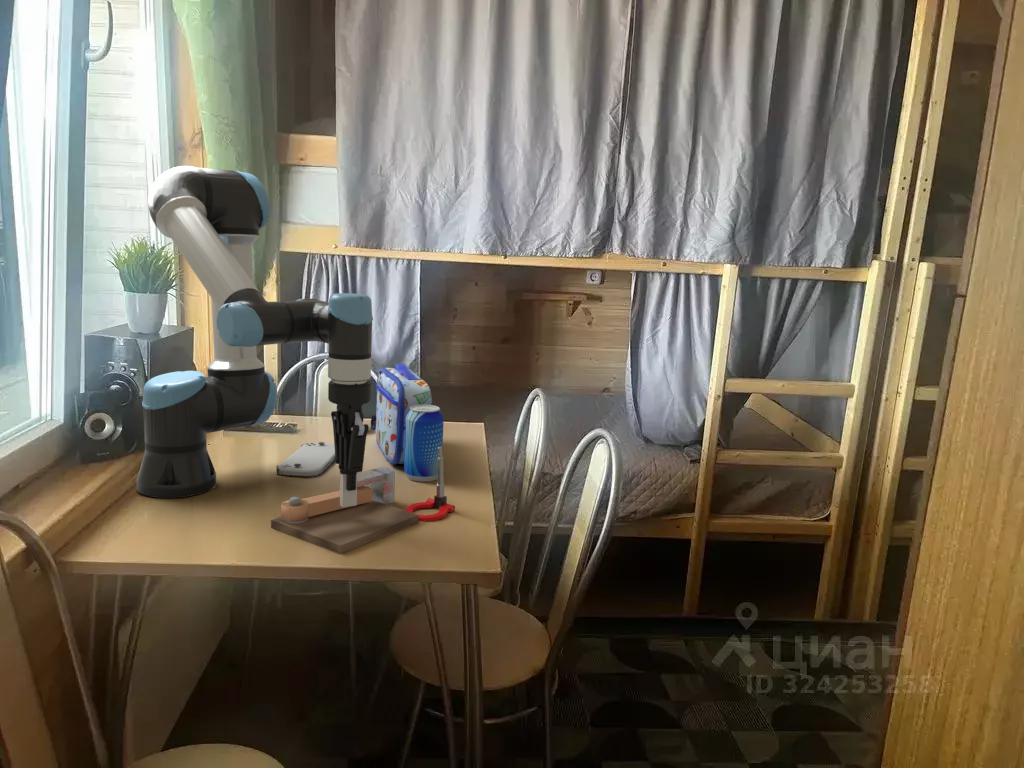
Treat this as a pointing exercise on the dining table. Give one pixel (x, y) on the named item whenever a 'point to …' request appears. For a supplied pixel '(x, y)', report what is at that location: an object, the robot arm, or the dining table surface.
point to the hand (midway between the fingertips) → (348, 505)
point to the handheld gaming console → (308, 460)
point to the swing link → (319, 504)
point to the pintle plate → (348, 525)
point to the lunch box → (396, 408)
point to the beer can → (423, 442)
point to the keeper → (379, 484)
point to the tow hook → (435, 498)
